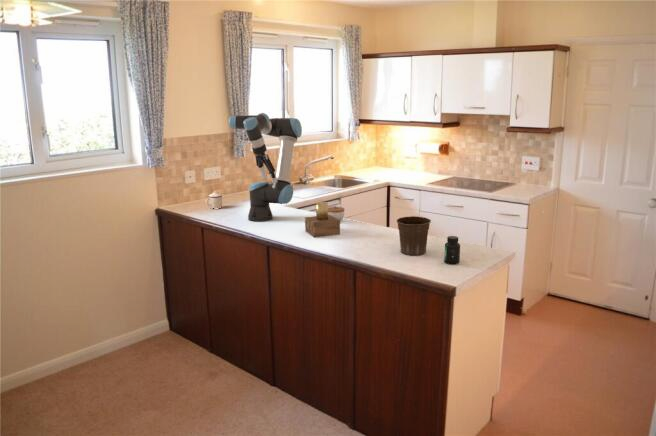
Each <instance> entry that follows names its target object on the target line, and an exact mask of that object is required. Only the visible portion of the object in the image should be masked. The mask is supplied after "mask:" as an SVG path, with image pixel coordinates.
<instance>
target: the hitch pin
mask: <svg viewBox="0 0 656 436" xmlns="http://www.w3.org/2000/svg"><path fill="white" fill-rule="evenodd" d="M328 205H329V203H328V202H327V201H317V202H316V203H315V214H316V215H315V216H316V219H317V220H327V219H328V208H329V206H328Z"/></svg>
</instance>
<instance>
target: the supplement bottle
mask: <svg viewBox="0 0 656 436" xmlns="http://www.w3.org/2000/svg"><path fill="white" fill-rule="evenodd" d="M446 239H447V240H446V241H447V242H446V243H444V256H443V257H444V260H443V261H444V263H445V264H446V265H447V264H448V265H451V266H452V265H458V264H460V261H461V260H460V259H461V244H460V243H459V237H458V236H455V235H448V236H447V237H446Z"/></svg>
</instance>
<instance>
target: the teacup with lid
mask: <svg viewBox="0 0 656 436" xmlns="http://www.w3.org/2000/svg"><path fill="white" fill-rule="evenodd" d="M208 201H209V202H208ZM208 203H209V204H208ZM205 204H206V205H207V206H208V207H209V209H210V208H220V207H222V206H223V195H222V193H220V192H217V191H216V190H214V191H213V192H212V193H211V194H208V198H207V199H205ZM222 208H223V207H222Z"/></svg>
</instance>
